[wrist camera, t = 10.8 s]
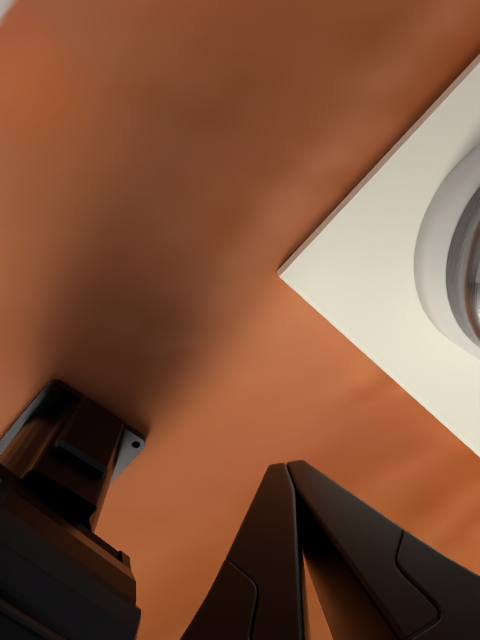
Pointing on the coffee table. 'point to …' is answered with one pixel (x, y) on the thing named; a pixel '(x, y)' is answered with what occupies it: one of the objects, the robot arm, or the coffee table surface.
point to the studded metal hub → (466, 271)
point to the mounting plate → (406, 260)
